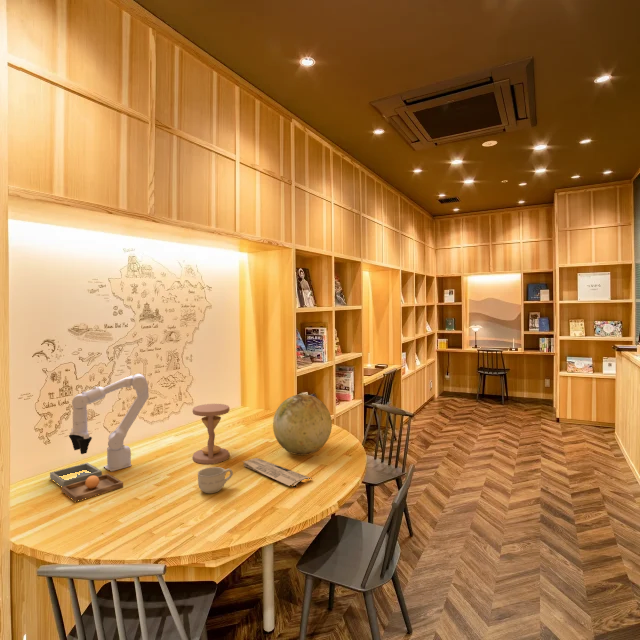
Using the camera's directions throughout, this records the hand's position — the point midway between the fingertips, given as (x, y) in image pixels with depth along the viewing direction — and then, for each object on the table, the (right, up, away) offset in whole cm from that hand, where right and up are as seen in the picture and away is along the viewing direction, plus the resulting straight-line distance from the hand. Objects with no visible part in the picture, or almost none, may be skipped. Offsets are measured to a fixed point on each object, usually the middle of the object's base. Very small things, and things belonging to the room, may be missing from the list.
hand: (80, 451), depth 186 cm
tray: (+15, -10, -18) cm, 25 cm away
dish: (+2, -10, -7) cm, 12 cm away
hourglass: (+54, -10, +20) cm, 58 cm away
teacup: (+65, -10, -17) cm, 68 cm away
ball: (+15, -7, -18) cm, 24 cm away
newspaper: (+87, -11, 0) cm, 87 cm away
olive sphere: (+98, -10, +27) cm, 102 cm away
